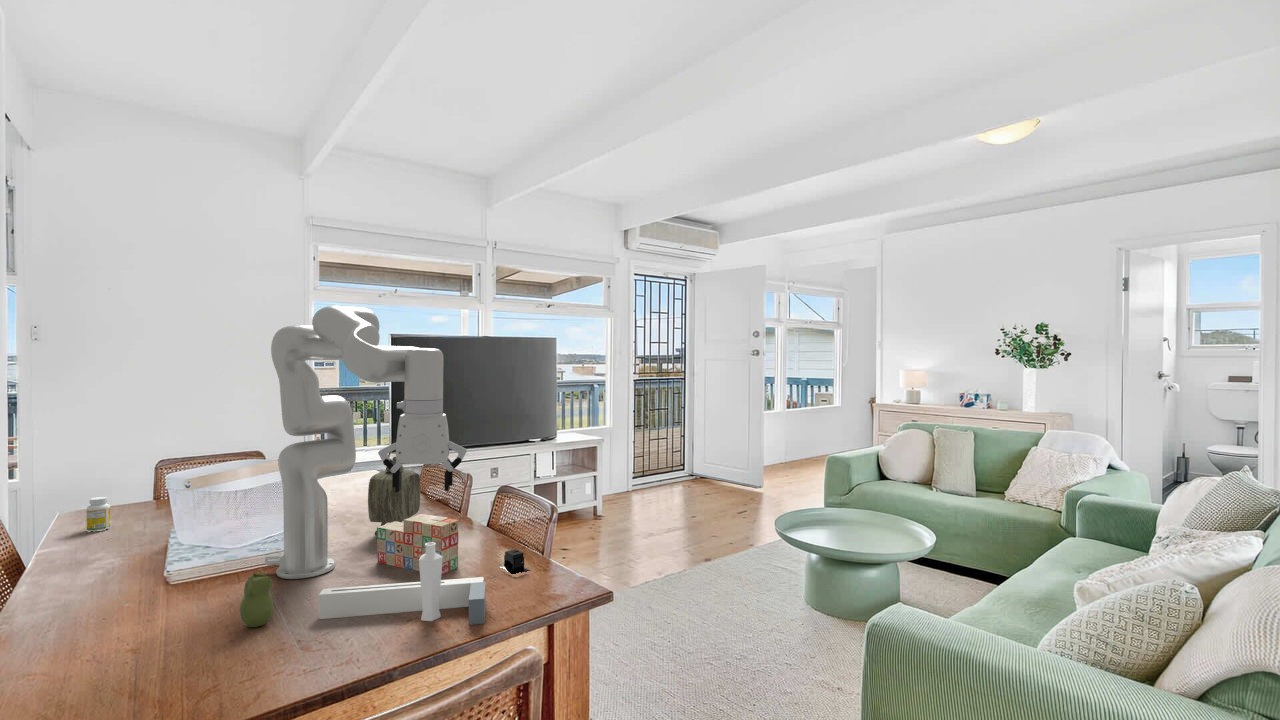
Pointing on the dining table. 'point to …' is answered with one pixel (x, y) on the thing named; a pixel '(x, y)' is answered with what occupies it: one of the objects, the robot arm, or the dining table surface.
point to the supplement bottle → (98, 514)
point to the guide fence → (403, 599)
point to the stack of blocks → (418, 541)
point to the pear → (257, 601)
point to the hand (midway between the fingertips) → (422, 490)
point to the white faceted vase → (430, 582)
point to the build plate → (514, 562)
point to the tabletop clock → (393, 496)
